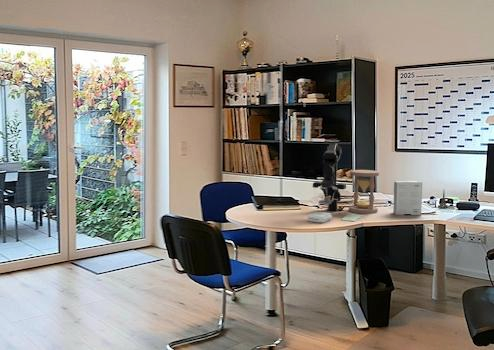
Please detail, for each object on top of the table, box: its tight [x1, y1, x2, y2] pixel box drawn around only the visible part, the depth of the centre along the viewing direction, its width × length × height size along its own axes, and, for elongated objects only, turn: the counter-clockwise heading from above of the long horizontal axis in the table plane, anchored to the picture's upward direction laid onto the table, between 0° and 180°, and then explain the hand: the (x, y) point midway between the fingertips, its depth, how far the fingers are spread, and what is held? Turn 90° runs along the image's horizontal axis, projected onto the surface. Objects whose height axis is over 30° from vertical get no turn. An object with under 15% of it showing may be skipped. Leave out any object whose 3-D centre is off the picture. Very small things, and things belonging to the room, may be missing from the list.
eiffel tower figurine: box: [437, 189, 456, 210], centre depth 342 cm, size 15×10×13 cm
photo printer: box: [307, 211, 333, 224], centre depth 299 cm, size 10×4×12 cm
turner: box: [318, 196, 334, 206], centre depth 308 cm, size 15×6×3 cm, turn 154°
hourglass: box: [348, 169, 380, 215], centre depth 329 cm, size 18×18×25 cm
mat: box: [340, 213, 363, 222], centre depth 308 cm, size 18×8×1 cm, turn 155°
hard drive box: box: [393, 180, 423, 216], centre depth 321 cm, size 16×8×20 cm, turn 84°
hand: (328, 200), depth 310 cm, fingers closed on turner, 2 cm apart
